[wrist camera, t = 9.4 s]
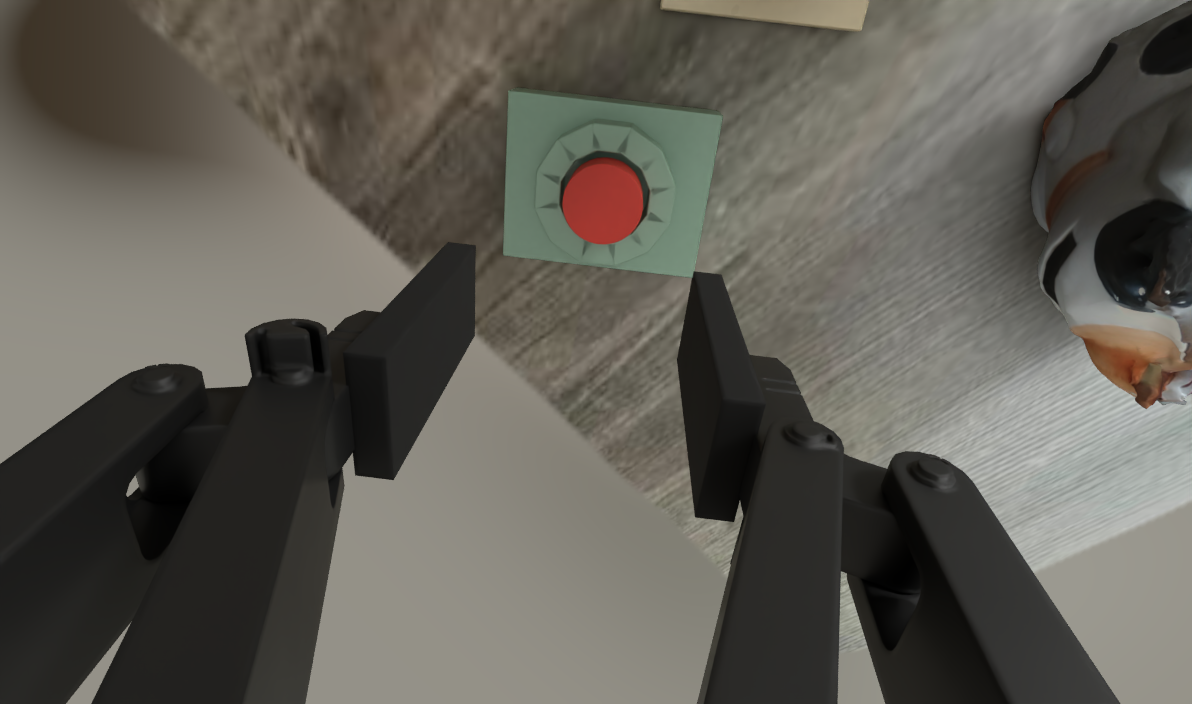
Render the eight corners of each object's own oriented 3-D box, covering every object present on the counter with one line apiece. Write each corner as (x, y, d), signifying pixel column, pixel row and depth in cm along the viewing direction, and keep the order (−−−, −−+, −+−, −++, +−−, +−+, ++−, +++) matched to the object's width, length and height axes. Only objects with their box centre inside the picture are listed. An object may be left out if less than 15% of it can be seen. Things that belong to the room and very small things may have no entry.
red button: (563, 229, 30) (559, 240, 28) (569, 152, 28) (565, 159, 26) (637, 238, 29) (637, 249, 28) (647, 161, 28) (648, 169, 26)
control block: (510, 243, 34) (495, 267, 30) (516, 87, 30) (500, 93, 27) (689, 264, 34) (695, 291, 30) (717, 110, 30) (728, 119, 26)
